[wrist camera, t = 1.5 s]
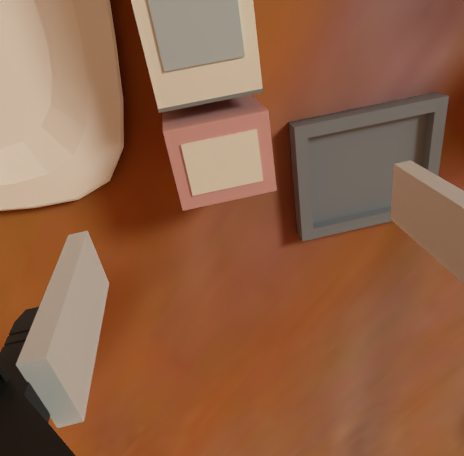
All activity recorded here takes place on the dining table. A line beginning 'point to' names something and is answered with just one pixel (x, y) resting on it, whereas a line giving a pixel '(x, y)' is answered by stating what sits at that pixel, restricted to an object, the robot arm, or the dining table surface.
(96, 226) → the dining table surface
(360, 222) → the stub tray
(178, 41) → the grey-panelled beige block
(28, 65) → the plate
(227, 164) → the stub
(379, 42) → the dining table surface
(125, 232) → the dining table surface
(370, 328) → the dining table surface
